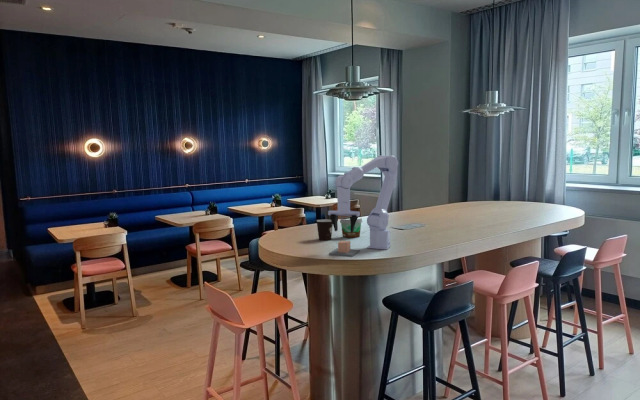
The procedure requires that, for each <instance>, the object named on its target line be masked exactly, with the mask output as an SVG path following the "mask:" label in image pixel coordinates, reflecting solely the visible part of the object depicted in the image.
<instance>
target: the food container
mask: <svg viewBox="0 0 640 400" xmlns="http://www.w3.org/2000/svg"><path fill="white" fill-rule="evenodd" d="M339 223H340V224H341V236H342V238H344V239H357V238H360V237H361V227H362V223H363V219H362V218H357V221H356V223H355V226H354V231H353V232H351V222H350V218H349V219H346V218H345V219H344V218H340V221H339Z"/></svg>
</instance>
